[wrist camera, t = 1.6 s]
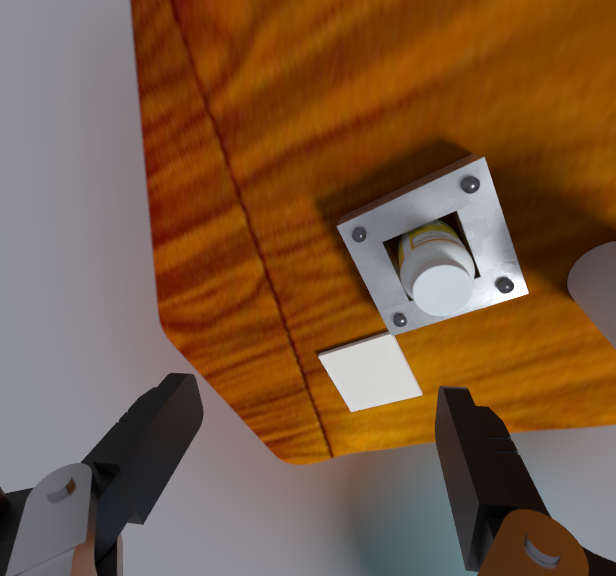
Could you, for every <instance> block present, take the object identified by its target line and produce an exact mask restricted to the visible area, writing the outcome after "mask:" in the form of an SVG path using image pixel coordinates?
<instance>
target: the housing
mask: <svg viewBox="0 0 616 576" xmlns="http://www.w3.org/2000/svg"><path fill="white" fill-rule="evenodd" d="M452 212H453V214H454V217H455V219H456V222H457V225H458V227H459V230H460V233H461V235H462V238H463V241H464V244H465V246H466V249H467V251H468V253H469V255H470V256H471V258H472V260H473V263H474V268H475V275H474V280H473V288H474V289H473V295H472V298H471V300H470V302H469V303H468V304H467V306H466V307H465V308H463V309H462V310H461V311H459V312H457V313H455V314H452V315H448V316H434V315H430V314H428V313H425V312H424V311H422V310H421V309H420V308H419V307H418V306H417V305H416V303H415V302H414V300H413V299H412V298H411V297H410V296H409V295H408V294H407V293H406V291H405V290H404V288H403V286H402V283H401V278H400V269H399V267H398V265H397V263H396V260H395V258H394V256H393V254H392V252H391V249H390V247H389V245H388V243H387V240H389V239H391V238H393V237H396V236H398V235H400V234H403V233H405V232H407V231H410V230H412V229H414V228H417V227H419V226H421V225H424V224H426V223H428V222H431V221H433V220H435V219H438V218H440V217H442V216H445V215H447V214H449V213H452ZM337 228H338V230H339V232H340V234H341V236H342V238H343V240H344V242H345V244H346V246H347V248H348V250H349V252H350V254H351V256H352V258H353V260H354V262H355V264H356V266H357V268H358V270H359V272H360V274H361V276H362V278H363V280H364V282H365V284H366V286H367V288H368V290H369V292H370V294H371V296H372V298H373V300H374V302H375V304H376V306H377V308H378V310H379V312H380V314H381V316H382V318H383V320H384V322H385V324H386V326H387V328H388V330H389V332H390V334H391V336H394V335H397V334H400V333H403V332H407V331H410V330H413V329H416V328H419V327H423V326H426V325H429V324H432V323H435V322H439V321H442V320H445V319H448V318H451V317H455V316H458V315H461V314H464V313H467V312H471V311H474V310H477V309H480V308H483V307H487V306H490V305H493V304H496V303H499V302H503V301H506V300H509V299H512V298H515V297H519V296H522V295H525V294H528V290H527V287H526V284H525V281H524V278H523V275H522V272H521V269H520V265H519V262H518V259H517V256H516V253H515V250H514V247H513V244H512V241H511V237H510V234H509V231H508V228H507V225H506V222H505V219H504V216H503V213H502V210H501V206H500V203H499V200H498V197H497V194H496V191H495V188H494V185H493V182H492V178H491V175H490V172H489V169H488V166H487V163H486V160H485V157H483V156H480V155H477V154H474V153H472V154H470V155H468V156H466V157H464V158H462V159H460V160H458V161H456V162H454V163H452V164H449V165H447V166H445V167H443V168H441V169H439V170H437V171H435V172H433V173H431V174H429V175H427V176H424V177H422V178H420V179H418V180H416V181H414V182H412V183H410V184H408V185H406V186H404V187H402V188H399V189H397V190H395V191H393V192H391V193H389V194H387V195H385V196H383V197H381V198H379V199H377V200H374V201H372V202H370V203H368V204H366V205H364V206H362V207H360V208H358V209H356V210H354V211H352V212H349V213H347V214H345V215H343V216H341V218H340V220H339V222H338V225H337Z"/></svg>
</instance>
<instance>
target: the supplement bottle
mask: <svg viewBox="0 0 616 576" xmlns="http://www.w3.org/2000/svg"><path fill="white" fill-rule="evenodd" d="M398 257H399V268H400V278H401V283H402V286H403V288H404V290H405V291H406V293H407V294H408V295H409V296H410V297H411V298H412V299H413V300H414V302H415V303H416V305H417V306H418V307H419V308H420V309H421V310H422V311H424V312H425V313H428V314H430V315H434V316H448V315H452V314H455V313H457V312H459V311H461V310H462V309H463V308H465V307H466V306H467V304H468V303H469V302H470V300H471V298H472V295H473V289H474V288H473V280H474V275H475V268H474V263H473V260H472V258H471V256H470V255H469V253H468V251H467V250H466V248H465V247H464V245H463V244H462V242H461V241H460V239H459V238H458V236H457V234H456V233H455V231H454V230H453V229H452V228H451V227H450V226H449V225H448V224H447V223H445V222H443V221H440V220H436V219H435V220H433V221H431V222H428V223H426V224H424V225H421V226H419V227H417V228H414V229H412V230H410V231H407V232H405V233H403V234H402V235H401V237H400V239H399V242H398Z"/></svg>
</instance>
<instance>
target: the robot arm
mask: <svg viewBox="0 0 616 576" xmlns="http://www.w3.org/2000/svg"><path fill="white" fill-rule="evenodd" d="M202 420H203V406H202V402H201V398H200V394H199V389H198V385H197V382H196V378H195V376H194V375H193V374H184V373H170V374H168V375H167V376H166V377H165V379H164V380H163V381H162V382H161V383H160V384H159V386H158V387H157V388H156V387H154V388H152V389H151V390H149V391H148V392H146V393H145V394H143V395H142V396H141V397H139V398H138V399H137V401H136V402H135V403H134V404H133V405H132V406H131V407H130V408H129V410H128V412H126V413H125V414H124V415H123V416H122V417H121V418H120V419H119V422H118V423H116V424H115V425H114V426H113V427H112V428H111V429H110V431H109V432H108V433H107V434H106V435H105V436H104V437H103V439H102V440H101V441H100V442H99V443H98V444H97V445H96V446H95V447H94V448H93V450H92V451H91V452H90V453H89V454H88V455H87V456H86V457H85V459H84V460H83V461H82V462H81V463H76V464H70V465H67V466H64V467H62V468H60V469H57V470H56V471H54V472H52V473H51V474H49V475H48V476H46V477H45V478H44V479H42V480H41V481H40V482H39V483H38V484H37V485H36V486H35V487H34V488H30V489H25V490H20V491H16V492H10V493H4V492H3V490H2V489H1V487H0V576H123V541H122V535H121V531H122V530H123V528H124V527H125V525H126V524H127V522H128V523H134V524H142V525H143V524H144V522H145V521H146V519H147V517H148V515H149V514H150V512H151V510H152V509H153V507H154V505H155V503H156V502H157V500H158V498H159V497H160V495H161V493H162V491H163V490H164V488H165V486H166V485H167V483H168V481H169V479H170V478H171V476H172V474H173V473H174V471H175V469H176V468H177V466H178V464H179V462H180V461H181V459H182V457H183V456H184V454H185V452H186V450H187V449H188V447H189V445H190V443H191V442H192V440H193V438H194V437H195V435H196V433H197V432H198V430H199V428H200V426H201V423H202ZM435 439H436V445H437V450H438V454H439V459H440V463H441V467H442V471H443V476H444V479H445V484H446V488H447V492H448V497H449V501H450V505H451V509H452V514H453V518H454V522H455V526H456V531H457V535H458V539H459V543H460V547H461V551H462V556H463V560H464V564H465V569H466V570H467V571H474V572H479V573H478V575H477V576H616V562H613V561H611V560H608V559H606V558H603V557H601V556H599V555H597V554H594V553H592V552H591V551H589V550H587V549H585V548H584V547H582V546H581V545H580V544H579V543H578V541H577V540H576V539H575V537H574V536H573V535H572V534H571V533H570V532H569V531H568V530H567V529H566V528H565V527H563V526H562V525H561V524H560V523H558V522H557V521H555V520H554V519H552V517H551V516H550V514H549V513H548V511H547V509H546V507H545V505H544V503H543V501H542V499H541V497H540V495H539V493H538V491H537V489H536V487H535V485H534V483H533V481H532V479H531V477H530V475H529V473H528V471H527V469H526V467H525V465H524V463H523V461H522V459H521V457H520V455H518V451H517V448H516V447H515V444H514V443H513V441H511V437H510V434H509V432H508V430H507V428H506V426H505V424H504V422H503V421H502V420H501V419H500V418H499V417H498V416H497V415H496V414H495V413H494V412H493V411H492V410H491V409H490V408H489V407H483V406H475V404H474V401H473V399H472V397H471V394H470V392H469V390H468V388H466V387H446V386H440V388H439V392H438V401H437V411H436V420H435Z"/></svg>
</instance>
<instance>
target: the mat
mask: <svg viewBox="0 0 616 576" xmlns="http://www.w3.org/2000/svg"><path fill="white" fill-rule="evenodd" d="M318 357H319V359H320V361H321V362H322V364H323V366H324V367H325V369H326V371H327V372H328V374H329V376H330V377H331V379H332V381H333V382H334V384H335V386H336V387H337V389H338V391H339V392H340V394H341V396H342V397H343V399H344V401H345V402H346V404H347V406H348V407H349V409H350V411H351V412H353V411H357V410H362V409H366V408H370V407H374V406H379V405H383V404H387V403H391V402H396V401H400V400H404V399H408V398H413V397H417V396H421V395H422V391H421V389H420V387H419V385H418V383H417V381H416V379H415V376H414V374H413V372H412V370H411V368H410V366H409V364H408V362H407V360H406V358H405V356H404V354H403V352H402V350H401V348H400V346H399V344H398V342H397V340H396V338H395V336H391V334H390V332H389V331H388V332H385V333H382V334H379V335H375V336H372V337H369V338H366V339H363V340H360V341H357V342H354V343H350V344H347V345H344V346H341V347H338V348H335V349H332V350H328V351H325V352H322V353H319V355H318Z"/></svg>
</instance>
